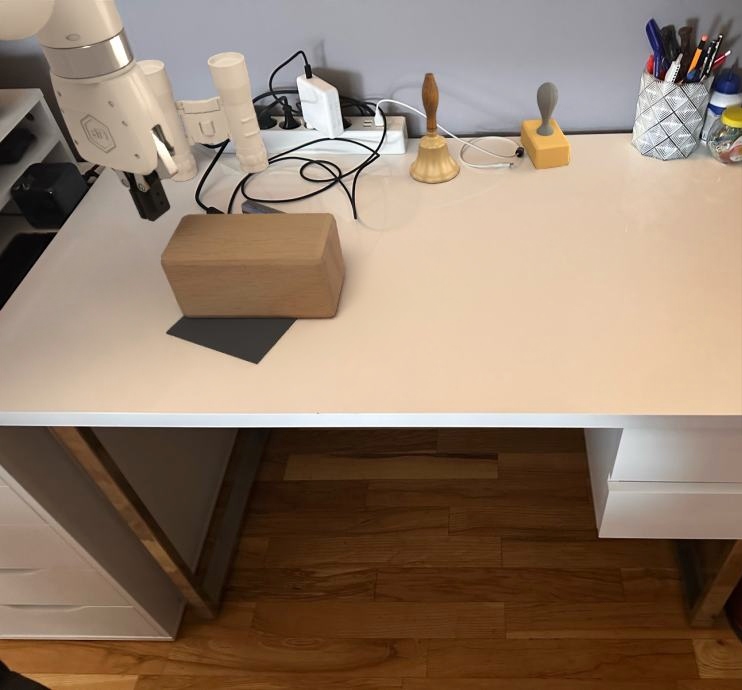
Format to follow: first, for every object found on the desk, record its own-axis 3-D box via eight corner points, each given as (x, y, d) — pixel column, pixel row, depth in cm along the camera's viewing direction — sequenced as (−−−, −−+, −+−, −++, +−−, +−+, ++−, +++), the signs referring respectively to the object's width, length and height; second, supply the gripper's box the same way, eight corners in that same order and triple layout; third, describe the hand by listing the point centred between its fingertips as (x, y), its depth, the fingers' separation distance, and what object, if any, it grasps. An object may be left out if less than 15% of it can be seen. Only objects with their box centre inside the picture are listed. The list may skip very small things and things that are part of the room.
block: (181, 320, 86) (336, 320, 86) (154, 259, 79) (322, 258, 79) (204, 271, 93) (347, 271, 93) (181, 211, 86) (335, 209, 86)
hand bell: (409, 159, 114) (400, 65, 103) (458, 156, 114) (454, 62, 103) (409, 185, 108) (400, 88, 97) (460, 182, 108) (457, 85, 97)
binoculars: (271, 156, 116) (245, 50, 103) (270, 172, 112) (243, 64, 100) (169, 167, 114) (129, 61, 102) (165, 184, 110) (123, 76, 98)
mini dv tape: (250, 239, 99) (240, 204, 95) (257, 233, 100) (247, 199, 96) (293, 255, 96) (284, 220, 92) (300, 249, 97) (291, 214, 93)
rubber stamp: (520, 140, 117) (522, 72, 109) (552, 136, 118) (557, 68, 110) (535, 169, 111) (539, 99, 102) (569, 164, 111) (576, 94, 103)
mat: (257, 364, 81) (256, 362, 81) (166, 333, 85) (165, 332, 85) (311, 302, 89) (310, 301, 88) (225, 277, 93) (224, 276, 93)
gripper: (2, 57, 64) (83, 218, 77) (121, 80, 60) (186, 246, 73) (62, 29, 69) (129, 185, 82) (177, 48, 65) (229, 210, 78)
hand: (156, 213), depth 78 cm, fingers closed
